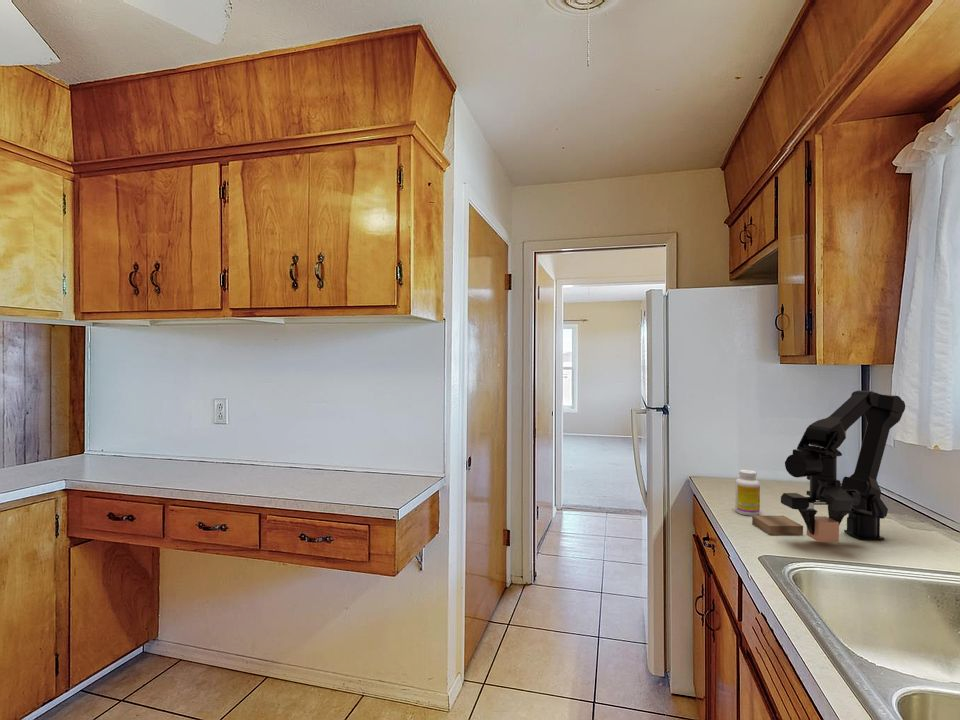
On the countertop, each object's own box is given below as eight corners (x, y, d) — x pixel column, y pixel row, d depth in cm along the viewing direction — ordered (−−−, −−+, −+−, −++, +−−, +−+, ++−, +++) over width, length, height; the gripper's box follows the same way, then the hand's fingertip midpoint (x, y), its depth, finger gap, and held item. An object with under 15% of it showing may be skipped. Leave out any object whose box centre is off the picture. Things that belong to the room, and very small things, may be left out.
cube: (825, 535, 136) (825, 516, 136) (838, 542, 131) (839, 522, 131) (806, 535, 136) (806, 516, 136) (819, 542, 131) (819, 522, 131)
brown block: (783, 524, 149) (783, 515, 149) (803, 535, 140) (803, 526, 140) (752, 524, 149) (752, 515, 149) (769, 535, 140) (769, 525, 140)
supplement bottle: (762, 517, 155) (763, 474, 155) (738, 515, 157) (739, 473, 156) (755, 510, 162) (756, 469, 162) (732, 509, 163) (733, 468, 163)
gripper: (806, 481, 125) (805, 545, 125) (883, 481, 125) (883, 546, 125) (779, 471, 136) (779, 530, 136) (850, 471, 136) (850, 530, 136)
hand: (822, 534), depth 133 cm, fingers closed on cube, 5 cm apart
